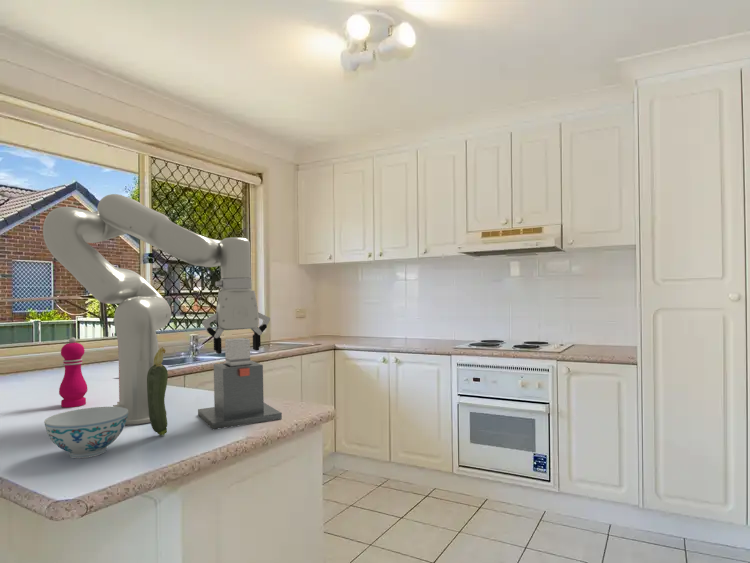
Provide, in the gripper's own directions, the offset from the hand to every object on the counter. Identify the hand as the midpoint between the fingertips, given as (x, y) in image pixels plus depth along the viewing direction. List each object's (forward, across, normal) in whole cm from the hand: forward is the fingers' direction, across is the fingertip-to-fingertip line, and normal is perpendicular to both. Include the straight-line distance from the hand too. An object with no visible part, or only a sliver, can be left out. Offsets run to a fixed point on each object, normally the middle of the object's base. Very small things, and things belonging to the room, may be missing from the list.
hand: (237, 351), depth 131 cm
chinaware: (+17, -34, -11) cm, 40 cm away
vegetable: (+17, -20, -6) cm, 27 cm away
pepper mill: (+17, -37, +43) cm, 59 cm away
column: (+15, 0, 0) cm, 15 cm away
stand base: (+17, 0, 0) cm, 17 cm away
